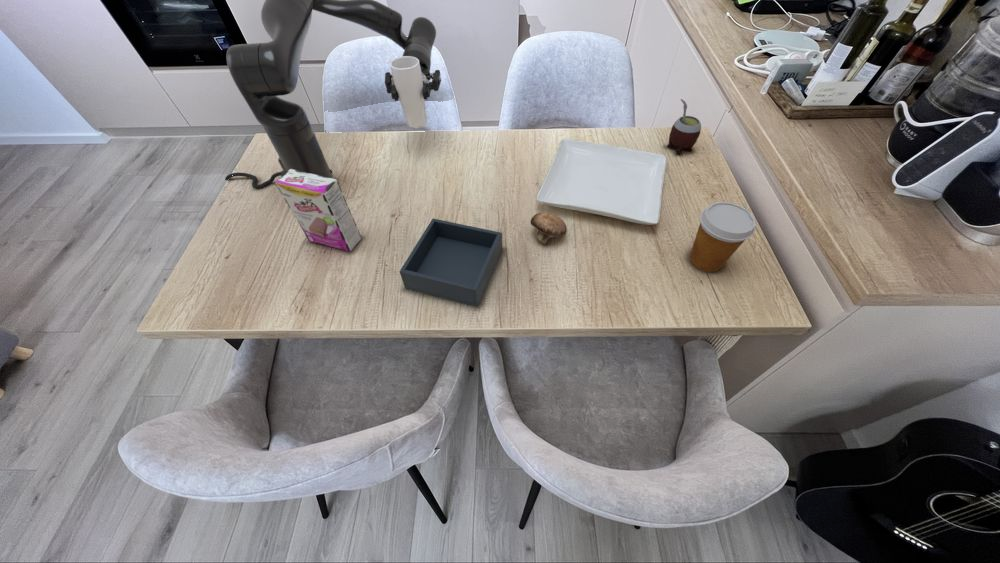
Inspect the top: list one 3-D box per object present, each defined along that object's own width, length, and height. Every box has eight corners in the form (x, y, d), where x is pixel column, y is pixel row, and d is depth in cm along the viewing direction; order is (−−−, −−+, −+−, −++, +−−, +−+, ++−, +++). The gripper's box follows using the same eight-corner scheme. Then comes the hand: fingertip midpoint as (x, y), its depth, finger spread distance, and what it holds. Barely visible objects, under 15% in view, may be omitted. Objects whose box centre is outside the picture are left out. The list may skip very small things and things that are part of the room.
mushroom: (536, 245, 81) (546, 215, 79) (519, 233, 88) (527, 206, 86) (567, 250, 85) (577, 222, 83) (548, 239, 92) (556, 213, 90)
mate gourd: (693, 144, 108) (715, 89, 96) (691, 160, 104) (714, 104, 92) (665, 139, 110) (683, 84, 98) (662, 154, 105) (680, 99, 94)
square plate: (654, 236, 86) (659, 223, 83) (534, 211, 92) (534, 198, 89) (664, 165, 102) (668, 152, 99) (560, 148, 108) (562, 135, 105)
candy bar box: (307, 242, 88) (273, 182, 75) (321, 227, 91) (289, 167, 78) (350, 253, 86) (322, 193, 73) (363, 238, 88) (337, 177, 76)
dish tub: (405, 288, 79) (399, 271, 75) (436, 235, 88) (432, 218, 84) (478, 307, 76) (475, 290, 72) (502, 250, 85) (502, 232, 81)
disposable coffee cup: (725, 285, 78) (754, 242, 68) (676, 267, 81) (697, 224, 71) (733, 253, 83) (761, 209, 73) (687, 238, 86) (708, 194, 76)
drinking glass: (425, 131, 99) (413, 70, 87) (400, 129, 100) (384, 68, 88) (433, 117, 103) (423, 56, 91) (409, 115, 104) (396, 54, 92)
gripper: (445, 77, 107) (442, 110, 97) (392, 80, 107) (383, 112, 97) (441, 48, 101) (437, 79, 91) (384, 50, 101) (375, 81, 91)
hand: (409, 96), depth 94 cm, fingers closed on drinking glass, 6 cm apart
